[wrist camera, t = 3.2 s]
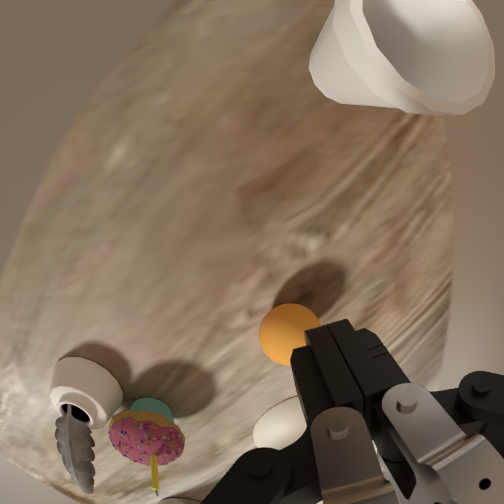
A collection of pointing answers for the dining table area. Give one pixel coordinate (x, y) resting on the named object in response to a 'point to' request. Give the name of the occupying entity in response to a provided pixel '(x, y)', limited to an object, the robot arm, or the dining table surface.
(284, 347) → the ball
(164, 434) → the cupcake
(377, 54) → the foam cup
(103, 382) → the inkwell
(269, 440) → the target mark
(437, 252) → the dining table surface
